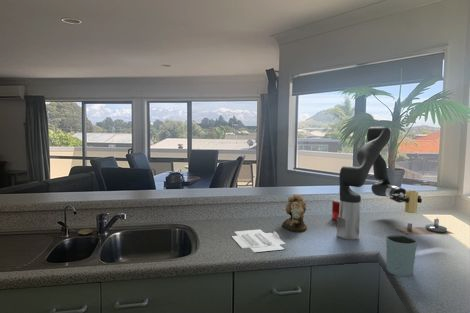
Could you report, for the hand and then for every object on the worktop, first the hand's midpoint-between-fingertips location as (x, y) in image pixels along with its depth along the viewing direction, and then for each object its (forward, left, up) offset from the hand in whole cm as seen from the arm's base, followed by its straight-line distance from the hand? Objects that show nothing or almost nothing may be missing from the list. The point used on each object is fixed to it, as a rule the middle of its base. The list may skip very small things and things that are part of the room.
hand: (414, 200), depth 161 cm
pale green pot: (-39, -28, -17) cm, 50 cm away
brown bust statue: (-46, +31, -17) cm, 58 cm away
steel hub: (+14, -1, -16) cm, 21 cm away
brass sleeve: (+1, +2, -6) cm, 7 cm away
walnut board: (+8, +1, -17) cm, 19 cm away
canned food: (-15, +34, -17) cm, 41 cm away
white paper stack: (-72, +20, -18) cm, 77 cm away
